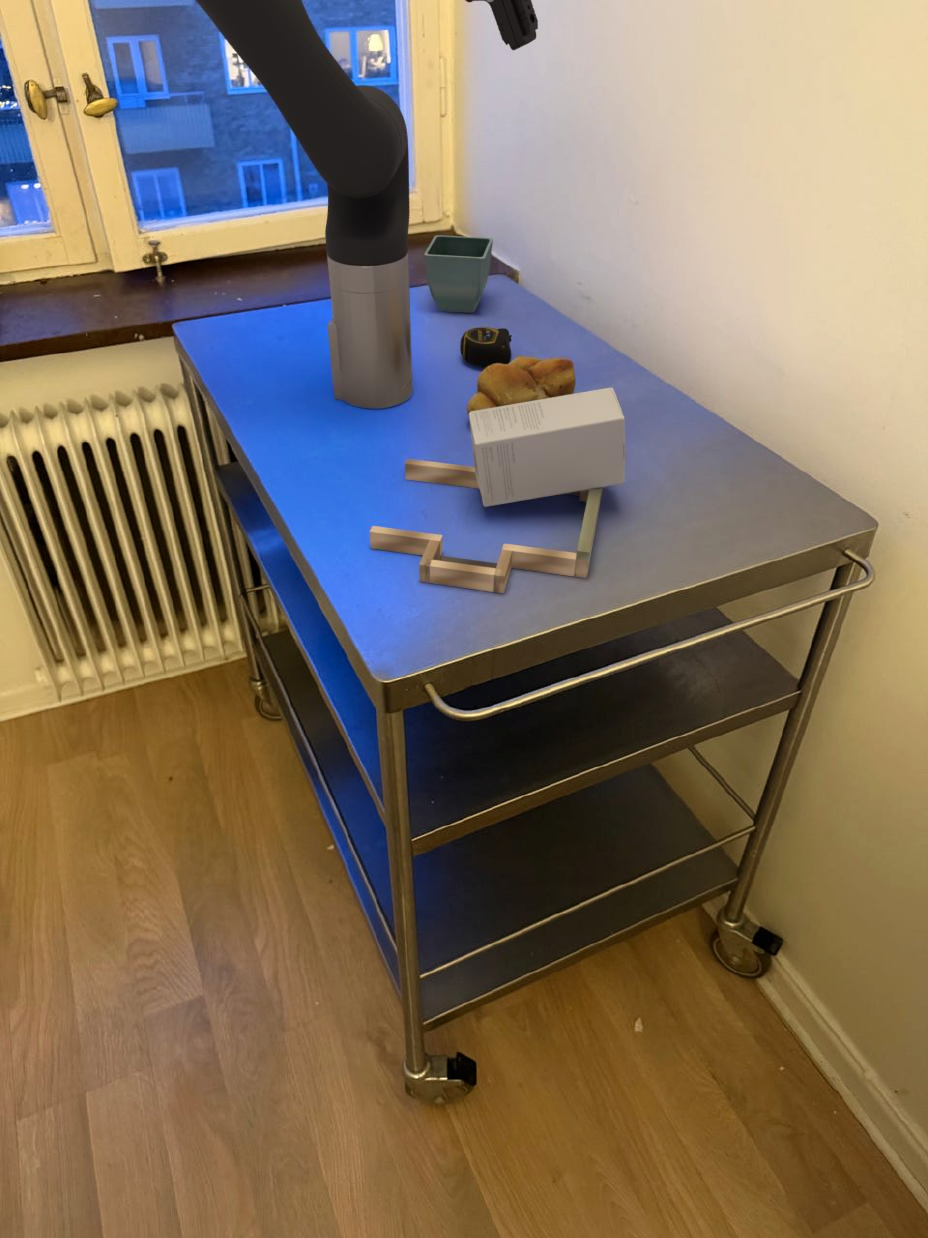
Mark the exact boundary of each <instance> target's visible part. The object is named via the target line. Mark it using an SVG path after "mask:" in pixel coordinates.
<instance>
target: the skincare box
mask: <svg viewBox="0 0 928 1238" xmlns="http://www.w3.org/2000/svg"><path fill="white" fill-rule="evenodd" d="M468 419H469V428H470V436H471V439H470V440H471V448H472V456H473V457H472V458H473V465H474V466H473V467H475V474H476V479H477V483H478V486H479V488H478V489H479V491H480V496H481V501H482V502H481V503H482V505H483V507H485V508H487V507H491V506H499V505H503V504H504V505H505V504H509V503H515V502H522V501H523V502H524V501H527V500H533V499H538V498H546V497H551V496H556V495H558V496H559V495H565V494H564V493H570V492H576V491H582V490H588V489H594V488H600V487H603V488H607V487H610V486H618V485H623V484H625V479H626V477H625V474H626V448H627V447H626V425H625V424H626V422H625V419H626V418H625V416H624V413H623V410H622V408H621V404H620V402H619V400H618V397H617V394H616V393H615V390H614V388H613V387H612V386H611V387H607V388H606V387H605V388H599V389H593V390H588V391H582V392H576V393H573V394H570V395H564V396H558V397H552V398H546V399H541V400H535V401H529V402H523V403H517V404H511V405H506V406H500V407H494V408H488V409H482V410H476V411H471V412H470V413H469V415H468Z"/></svg>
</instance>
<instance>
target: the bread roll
mask: <svg viewBox="0 0 928 1238" xmlns="http://www.w3.org/2000/svg"><path fill="white" fill-rule="evenodd" d="M576 384H577V383H576V373H575V365H574V362H573V361H572V360H571V359H568V358H565V357H555V358H554V357H553V358H547V359H540V358H538V357H534V356H532V357H529V356H522V355H519V356H517V357H515V358H514V359H512V361H510V363H509V364H508V365H507V364H501V363H495V364H492V365H490V366H488V367H484V369H483V370H482V371H481V373H480V374H479V376H478V377H477V383H476V388H477V389H476V390H477V391H476V393H474V394H473V396H472V397H471V398H470V399H469V400H468V403H467V407H466V412H467V413H466V414H467V415H468V416H469V413H470V412H471V411H476V410H482V409H488V408H494V407H500V406H506V405H511V404H517V403H523V402H529V401H535V400H541V399H546V398H552V397H558V396H564V395H570V394H575V393H574V392H575V389H576Z"/></svg>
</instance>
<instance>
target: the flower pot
mask: <svg viewBox="0 0 928 1238" xmlns="http://www.w3.org/2000/svg"><path fill="white" fill-rule="evenodd" d="M493 239H494V238H491V237H484V236H483V237H479V236H477V237H476V236H475V237H474V236H458V235H457V236H454V235H439V234H438V235H435V236H433V238H432V240H431V241H430V244H429V246H428V247H427V249H426V250H425V252H424V255H423V258H424V263H425V270H426V277H427V283H428V288H429V291H430V294H431V297H432V299H433V302H434V303H435V304H436V306H437V307H438V309H439V310H440V311H441V312H449V313H467V314H472V313H474V312H475V311H476V309H477V307H478V305H479V303H480V300H481V298H482V296H483V293H484V291H485V288H486V285H487V282H488V278H489V275H490V267H491V260H492V252H493V251H492V250H493V241H494V240H493Z"/></svg>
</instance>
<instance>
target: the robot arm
mask: <svg viewBox="0 0 928 1238" xmlns="http://www.w3.org/2000/svg"><path fill="white" fill-rule="evenodd" d="M464 1H465V2H467V3H472V2H483V1H484V2H485V3H487V4H488V5H489V6H490V8H491V11H492V13H493V17H494V19H495V20H494V21H495V22H496V26H497V28H498V31H499V35H500V37H501V40H502V41H503V42H504V44H505V45H506V46H509V47H510V50H512V51H516V50H519V49H520V48H522V47H524V46H526V45H528V44H530V43H531V42H533V41H536V39H537V30H538V29H539V21H538V18H537V15H536V12H535V8H534V5H533V1H532V0H464ZM195 2H196V3H197V4H198V5H199V7H201V9H202V10H203V11H204V12H205V14H206V15H207V16H208V17H209V19H210V20H211V22H212V23H213V24H214V25H215V27H216V28H217V29H218V31H219V32H220V33H221V35H222V37H223V38H224V39H225V40H226V41H227V43H228V44H229V45H230V46H231V48H232V49H233V50H234V52H235V53H236V54H237V55H238V56H239V58H240V59H241V61H242V62H243V63H244V64H245V65H246V66H247V67H248V68H249V70H250V71H251V73H253V75H254V76H255V78H256V79H257V80H258V82H259V83H260V85H261V86H262V87H263V88H264V89H265V91H266V92H267V94H268V95H269V96H270V98H271V99H272V101H273V102H274V104H275V105H276V107H277V109H278V110H279V112H280V113H281V115H282V117H283V119H284V120H285V121H286V123H287V125H288V126H289V128H290V130H291V131H292V133H293V135H294V136H295V137H296V140H297V141H298V143H299V145H300V146H301V147H302V149H303V151H304V152H305V154H306V156H307V157H308V158H309V161H310V162H311V164H312V165H313V167H314V168H315V169H316V171H317V173H318V174H319V176H320V177H321V178H322V180H324V181H325V183H326V187H327V212H326V213H327V215H326V222H325V231H324V236H325V247H326V248H325V249H326V257H327V258H326V259H327V268H328V278H329V280H328V281H329V289H330V298H331V299H330V300H331V311H332V319H330V321H329V322H328V323H327V335H328V346H329V354H330V355H329V356H330V357H329V358H330V366H331V376H332V378H331V379H332V387H333V388H332V389H333V396H334V399H336V400H342V401H344V402H345V403H347V404H349V405H351V406H353V407H354V406H355V407H358V408H363V409H385V408H391V407H394V406H397V405H400V404H403V403H405V402H406V401H408V400H409V399H410V398H411V396H412V395H413V391H414V389H413V388H414V387H413V386H414V385H413V377H414V376H413V364H412V363H413V358H412V357H413V355H412V330H411V329H412V327H411V326H412V325H411V322H412V321H411V301H410V300H411V299H410V298H411V296H410V295H411V294H410V293H411V292H410V269H409V267H410V265H409V262H410V261H409V227H410V226H409V225H410V210H411V209H410V159H409V158H410V155H409V138H408V137H409V136H408V129H407V124H406V121H405V118H404V115H403V112H402V110H401V109H400V107H399V106H398V104H397V103H396V101H395V100H394V99H393V98H392V97H391V96H390V95H388V94H387V93H386V92H385V91H383V90H381V89H380V88H378V87H375V86H371V85H364V84H359V85H356V84H355V81H353V80H352V79H351V78H350V76H349V75H348V74H347V73H346V70H344V68H342V66H341V65H340V64H339V62H338V61H337V60H336V59H335V57H334V56H333V54H332V53H331V52H330V50H329V48H328V47H327V46H326V45H325V43H324V41H323V40H322V38H321V37H320V35H319V33H318V32H317V30H316V28H315V26H314V24H313V23H312V19H310V16H309V14H308V11H307V9H306V7H305V5H304V3H303V0H195Z"/></svg>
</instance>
